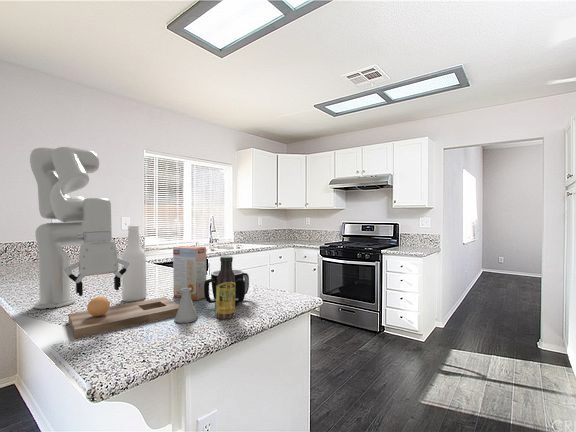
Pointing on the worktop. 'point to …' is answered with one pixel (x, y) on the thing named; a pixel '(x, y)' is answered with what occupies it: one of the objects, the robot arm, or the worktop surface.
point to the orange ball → (98, 306)
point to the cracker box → (189, 270)
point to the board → (122, 316)
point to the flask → (186, 308)
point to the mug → (240, 286)
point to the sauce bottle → (225, 289)
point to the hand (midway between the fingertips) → (99, 292)
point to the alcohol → (134, 268)
